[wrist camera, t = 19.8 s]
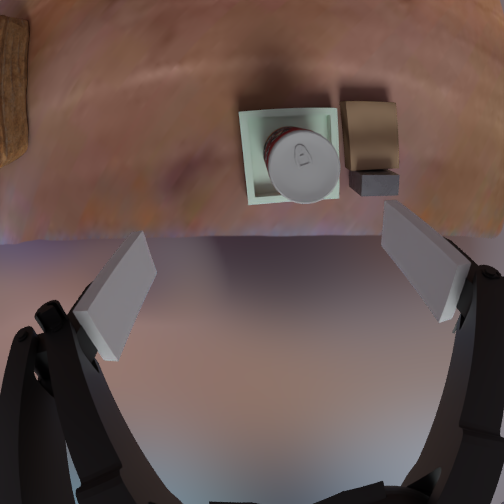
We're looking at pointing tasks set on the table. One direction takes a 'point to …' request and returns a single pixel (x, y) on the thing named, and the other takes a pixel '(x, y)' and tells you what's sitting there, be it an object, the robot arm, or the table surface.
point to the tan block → (370, 135)
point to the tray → (260, 128)
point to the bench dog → (374, 182)
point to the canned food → (301, 164)
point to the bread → (13, 88)
